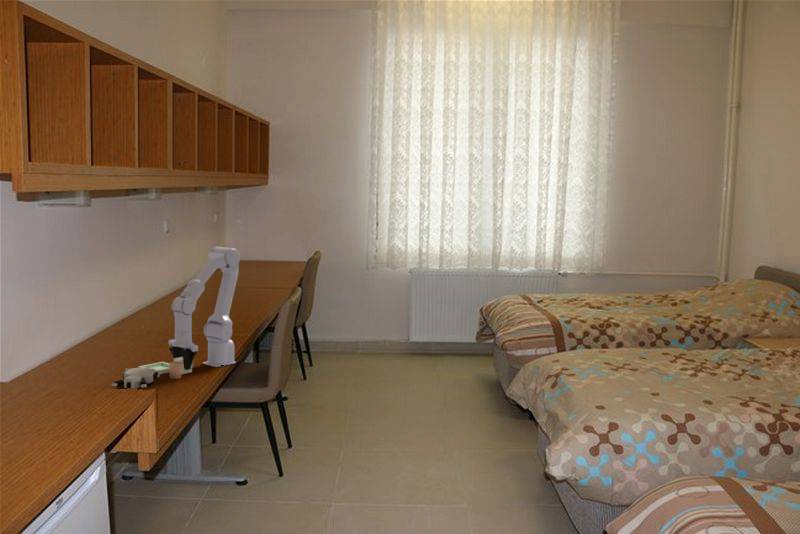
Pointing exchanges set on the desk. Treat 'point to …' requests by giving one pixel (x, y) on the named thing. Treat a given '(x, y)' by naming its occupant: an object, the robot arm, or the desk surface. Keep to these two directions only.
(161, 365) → the tray
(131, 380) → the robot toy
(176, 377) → the pink rounded capsule
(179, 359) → the cream block
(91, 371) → the desk surface
